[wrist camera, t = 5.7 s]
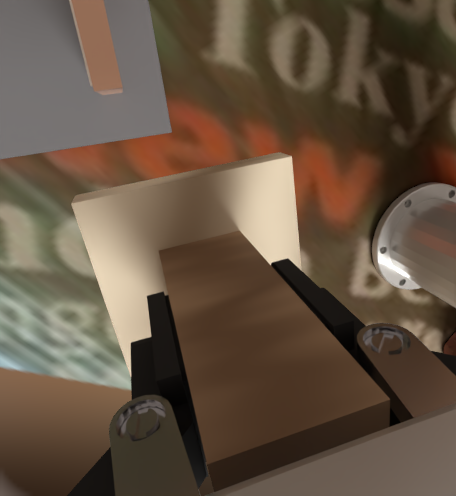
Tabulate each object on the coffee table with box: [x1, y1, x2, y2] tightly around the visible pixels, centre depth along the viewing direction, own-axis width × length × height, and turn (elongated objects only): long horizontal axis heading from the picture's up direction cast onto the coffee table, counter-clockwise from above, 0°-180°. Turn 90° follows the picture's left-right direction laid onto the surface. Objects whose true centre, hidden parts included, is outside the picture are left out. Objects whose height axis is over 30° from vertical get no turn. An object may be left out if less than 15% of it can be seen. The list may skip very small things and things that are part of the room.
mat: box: [0, 0, 172, 159], centre depth 26 cm, size 18×17×1 cm
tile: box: [69, 0, 123, 95], centre depth 22 cm, size 2×10×10 cm, turn 7°
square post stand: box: [71, 152, 390, 492], centre depth 11 cm, size 8×8×10 cm
